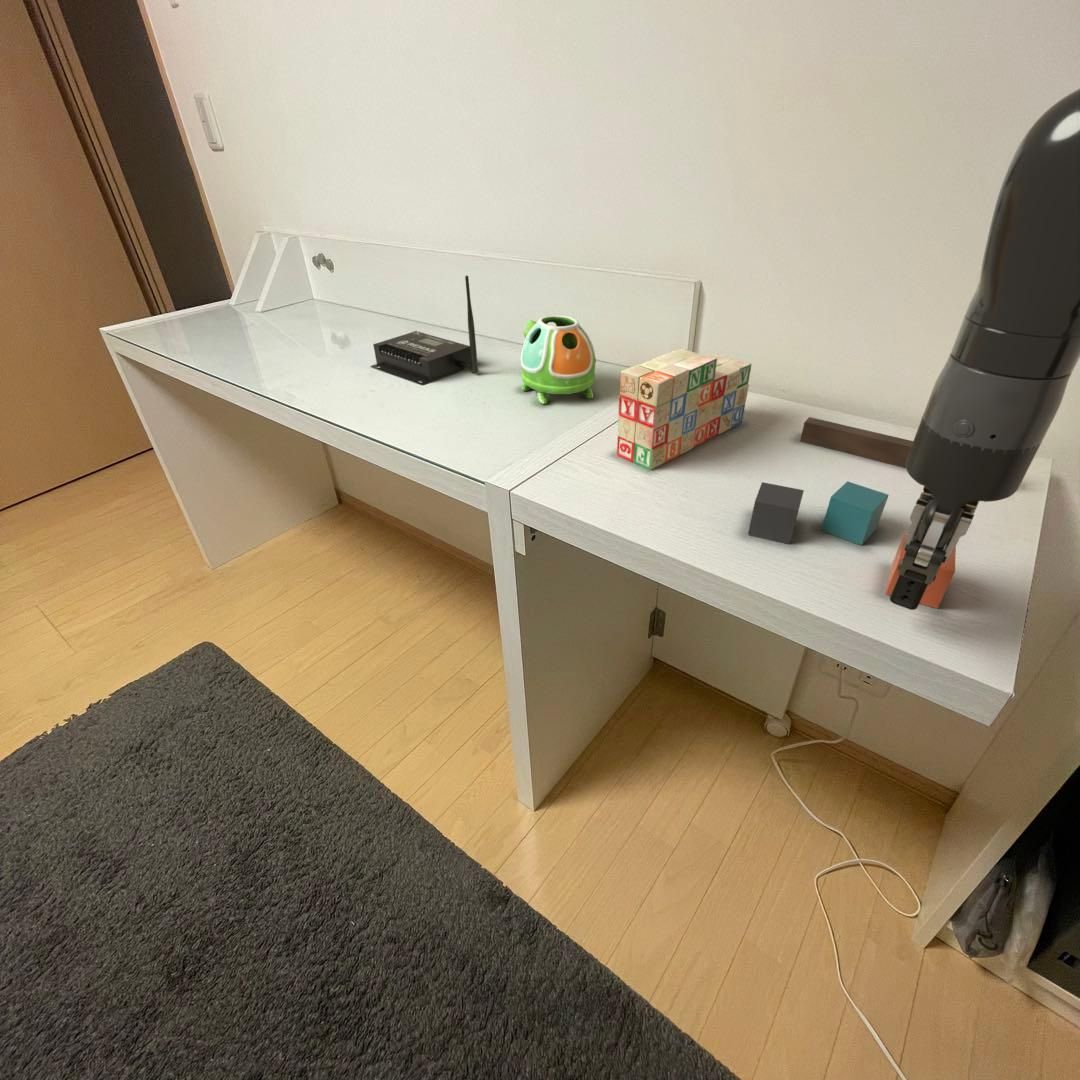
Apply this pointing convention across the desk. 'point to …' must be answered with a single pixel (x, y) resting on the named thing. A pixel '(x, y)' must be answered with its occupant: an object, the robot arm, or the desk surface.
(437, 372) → the wireless controller
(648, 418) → the stack of blocks
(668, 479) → the desk surface
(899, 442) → the rail
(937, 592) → the block terracotta
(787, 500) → the block charcoal
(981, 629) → the desk surface
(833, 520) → the block teal
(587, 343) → the turtle holder
